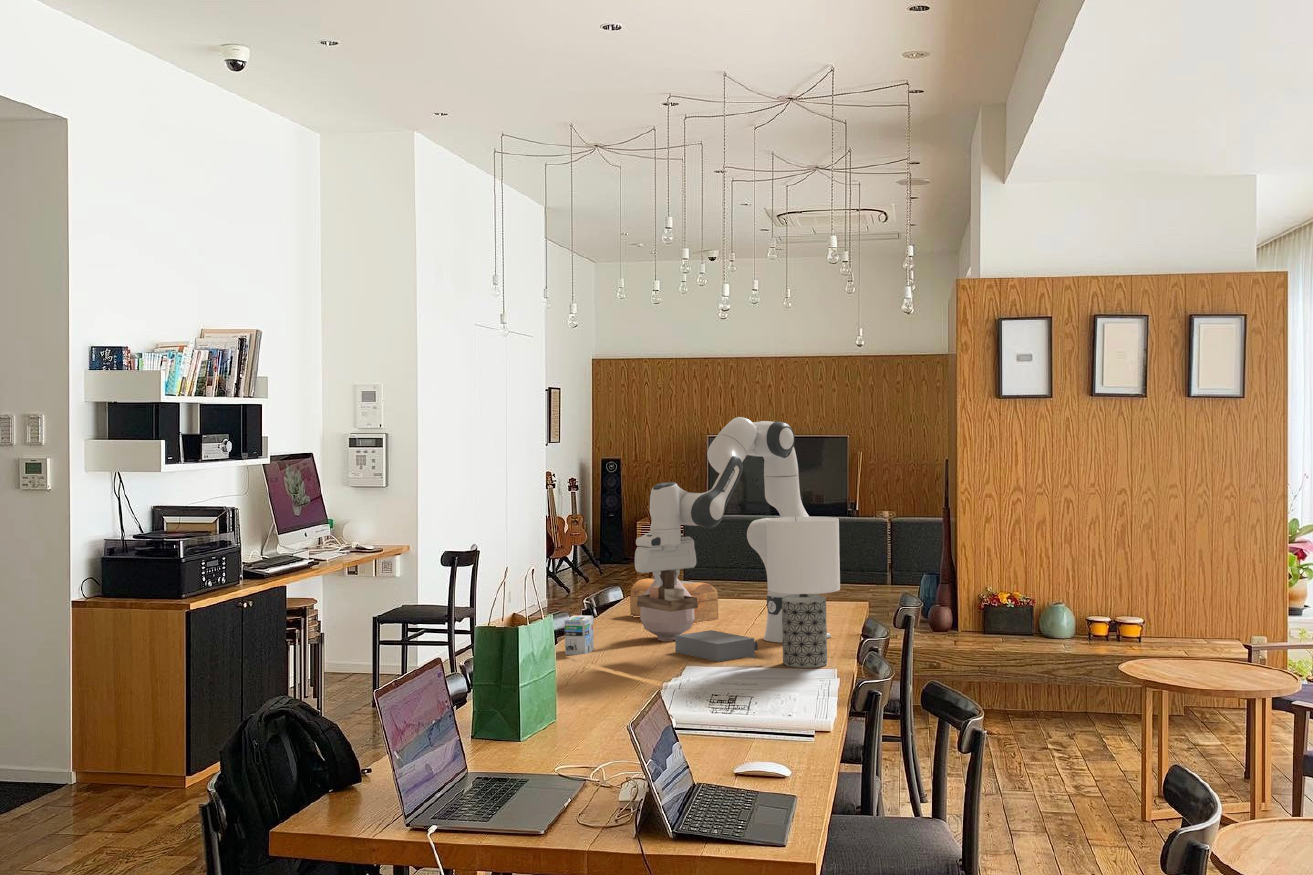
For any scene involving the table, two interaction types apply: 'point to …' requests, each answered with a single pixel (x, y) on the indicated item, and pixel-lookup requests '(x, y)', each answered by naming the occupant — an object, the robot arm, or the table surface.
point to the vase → (667, 618)
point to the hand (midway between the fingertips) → (666, 585)
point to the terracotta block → (654, 592)
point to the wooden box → (701, 591)
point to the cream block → (674, 594)
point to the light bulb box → (579, 635)
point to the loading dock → (716, 645)
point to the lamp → (803, 583)
